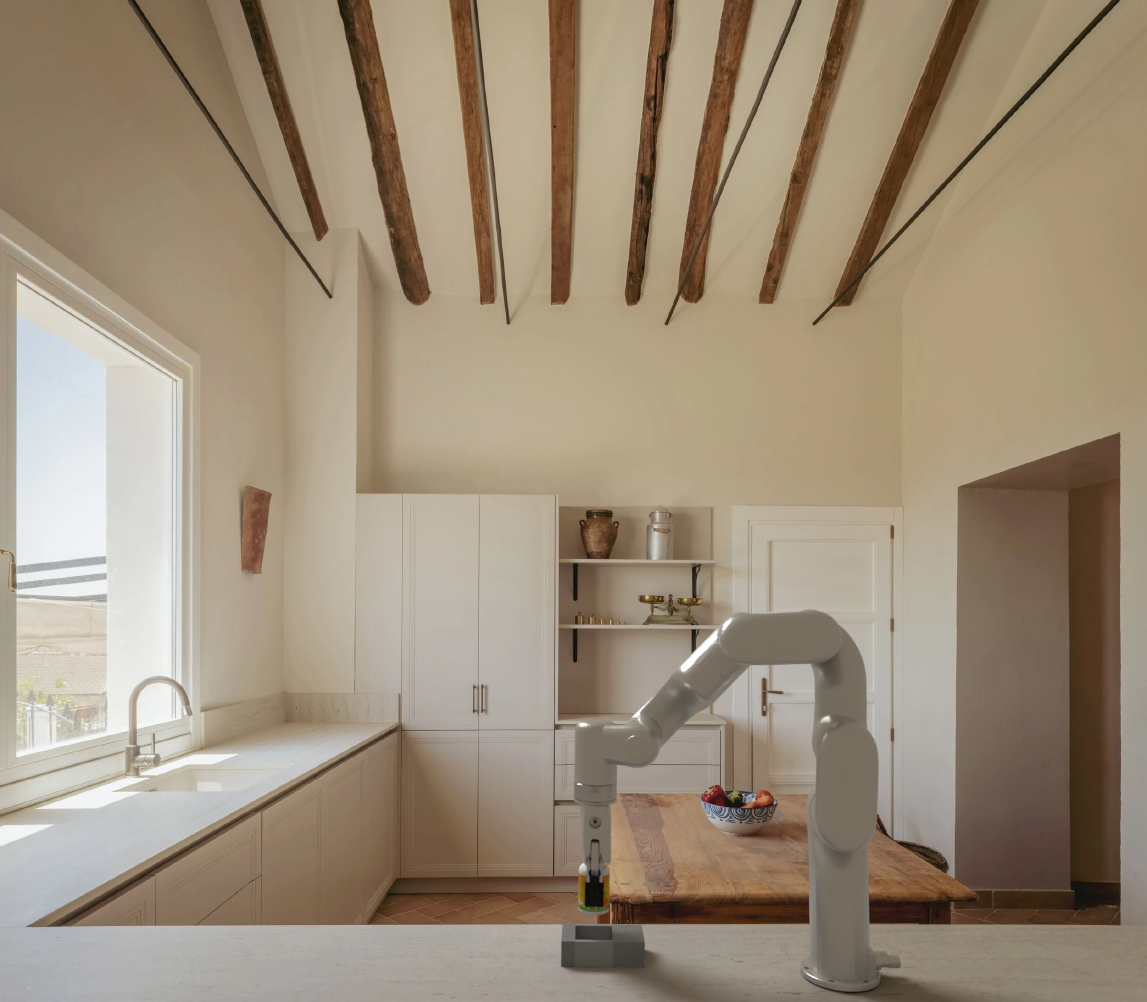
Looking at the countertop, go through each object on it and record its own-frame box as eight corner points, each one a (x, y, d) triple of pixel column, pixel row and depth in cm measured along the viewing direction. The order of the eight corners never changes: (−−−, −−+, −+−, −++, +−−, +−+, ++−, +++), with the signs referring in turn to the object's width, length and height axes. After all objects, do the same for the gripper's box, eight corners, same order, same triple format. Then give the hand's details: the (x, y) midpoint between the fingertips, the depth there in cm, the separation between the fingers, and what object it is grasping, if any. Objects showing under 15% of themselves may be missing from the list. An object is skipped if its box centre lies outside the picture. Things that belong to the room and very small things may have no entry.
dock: (641, 948, 157) (641, 924, 157) (644, 967, 149) (644, 942, 149) (562, 947, 157) (562, 923, 157) (561, 966, 149) (561, 941, 149)
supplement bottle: (582, 917, 150) (583, 857, 151) (574, 906, 155) (575, 848, 156) (613, 914, 152) (613, 855, 153) (603, 903, 157) (604, 846, 158)
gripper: (618, 804, 147) (617, 918, 145) (615, 782, 164) (613, 884, 162) (573, 803, 147) (571, 917, 145) (574, 781, 164) (572, 883, 162)
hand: (593, 898), depth 154 cm, fingers closed on supplement bottle, 5 cm apart
